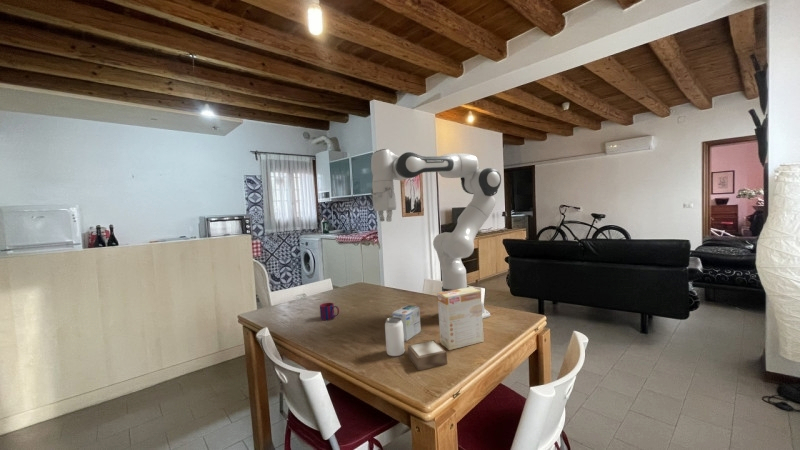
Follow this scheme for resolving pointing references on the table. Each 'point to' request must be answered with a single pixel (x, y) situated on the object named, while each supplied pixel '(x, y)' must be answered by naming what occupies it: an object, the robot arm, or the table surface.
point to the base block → (427, 355)
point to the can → (394, 336)
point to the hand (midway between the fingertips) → (385, 221)
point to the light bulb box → (409, 320)
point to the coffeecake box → (460, 317)
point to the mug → (327, 311)
